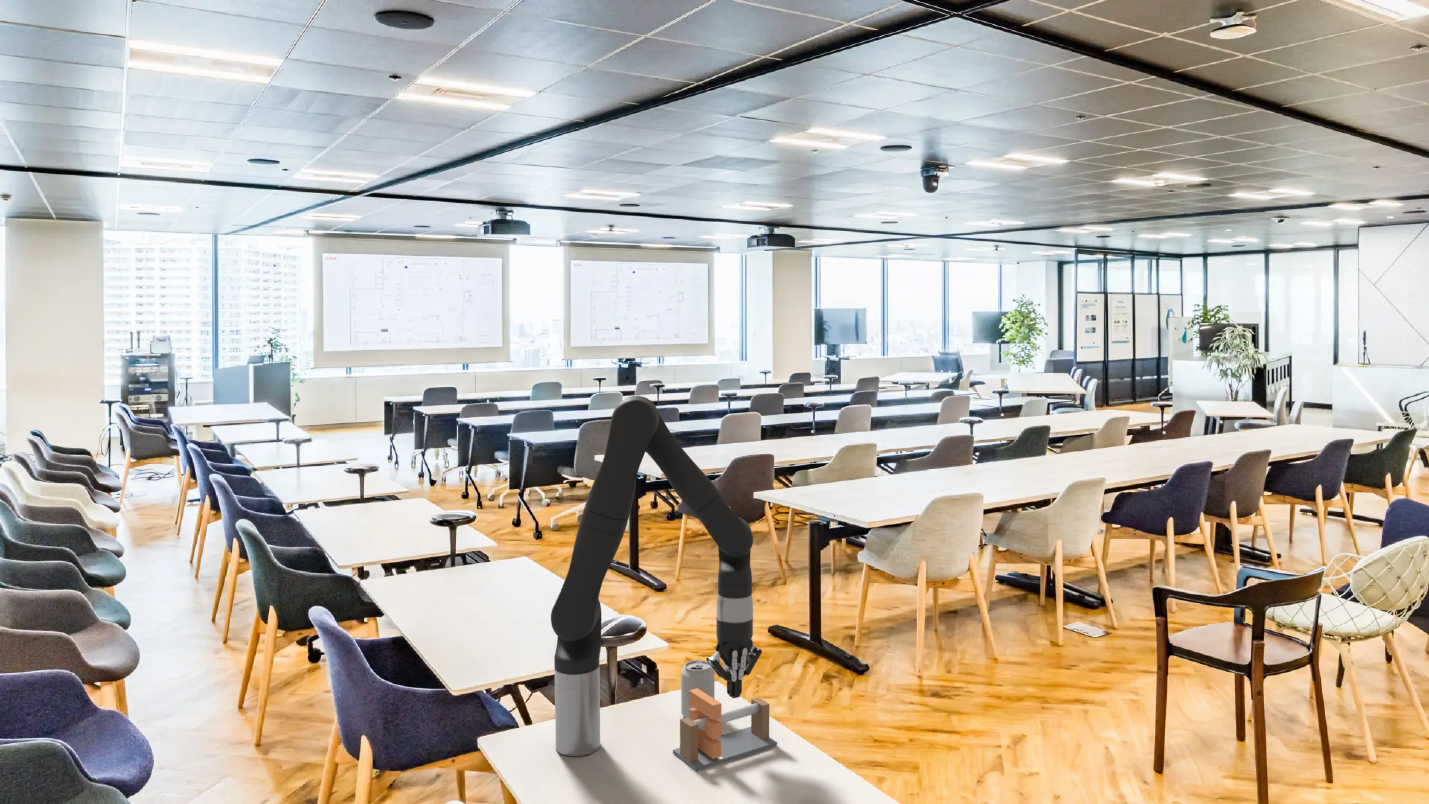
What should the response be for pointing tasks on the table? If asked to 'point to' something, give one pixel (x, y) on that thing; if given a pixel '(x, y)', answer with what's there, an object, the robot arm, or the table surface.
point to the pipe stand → (727, 736)
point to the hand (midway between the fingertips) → (734, 696)
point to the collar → (706, 721)
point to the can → (695, 682)
